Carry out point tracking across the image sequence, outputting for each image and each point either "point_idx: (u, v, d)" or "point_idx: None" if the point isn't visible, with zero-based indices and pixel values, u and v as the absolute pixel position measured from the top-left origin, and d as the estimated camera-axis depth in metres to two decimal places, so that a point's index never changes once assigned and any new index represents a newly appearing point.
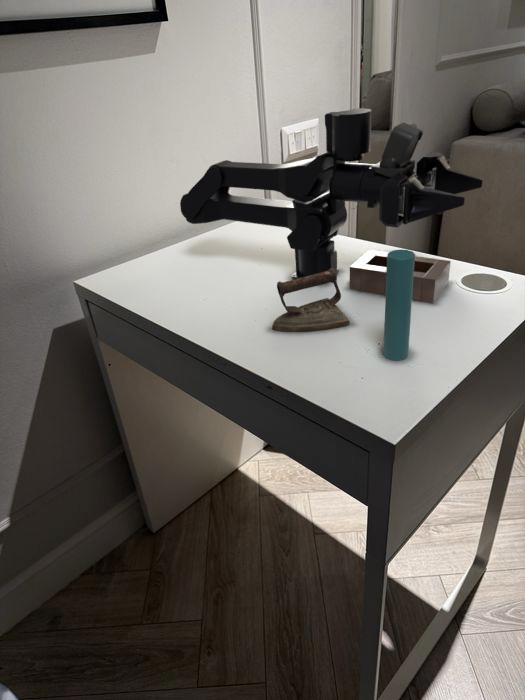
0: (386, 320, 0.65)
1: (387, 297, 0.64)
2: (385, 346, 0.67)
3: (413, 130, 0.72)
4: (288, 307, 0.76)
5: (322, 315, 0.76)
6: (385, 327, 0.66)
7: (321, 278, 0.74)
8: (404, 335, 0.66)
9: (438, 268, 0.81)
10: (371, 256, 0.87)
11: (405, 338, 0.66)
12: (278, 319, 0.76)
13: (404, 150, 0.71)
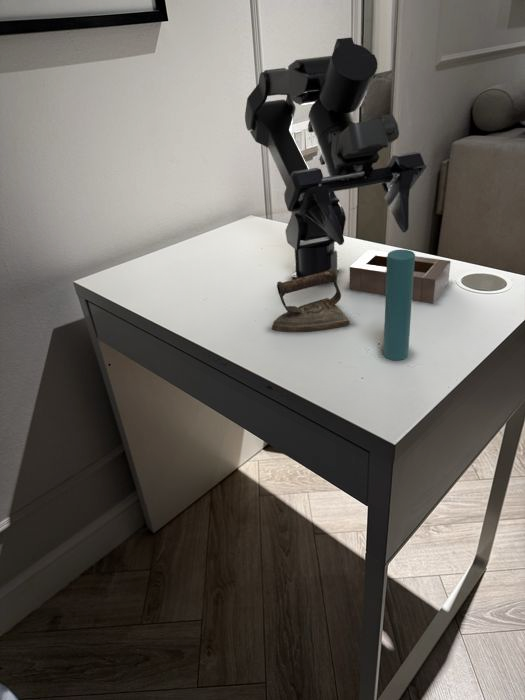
0: (386, 320, 0.65)
1: (387, 297, 0.64)
2: (385, 346, 0.67)
3: (371, 139, 0.63)
4: (288, 307, 0.76)
5: (322, 315, 0.76)
6: (385, 327, 0.66)
7: (321, 278, 0.74)
8: (404, 335, 0.66)
9: (438, 268, 0.81)
10: (371, 256, 0.87)
11: (405, 338, 0.66)
12: (278, 319, 0.76)
13: (348, 152, 0.64)
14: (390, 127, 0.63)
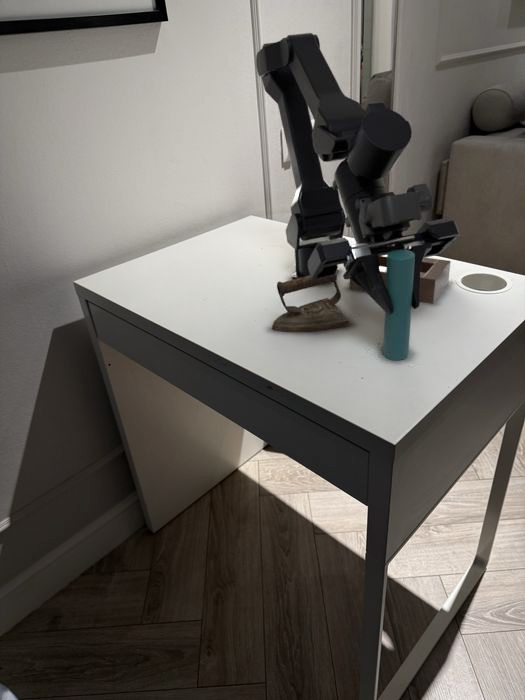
0: (386, 320, 0.65)
1: None
2: (385, 346, 0.67)
3: (404, 214, 0.58)
4: (288, 307, 0.76)
5: (322, 315, 0.76)
6: (385, 327, 0.66)
7: None
8: (404, 335, 0.66)
9: (438, 268, 0.81)
10: None
11: (405, 338, 0.66)
12: (278, 319, 0.76)
13: (378, 224, 0.60)
14: (424, 200, 0.59)
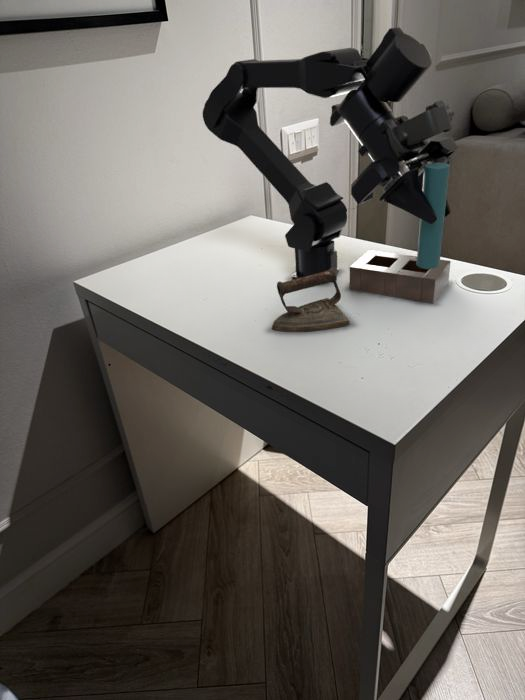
0: (425, 231, 0.72)
1: None
2: (423, 257, 0.74)
3: (443, 124, 0.65)
4: (288, 307, 0.76)
5: (322, 315, 0.76)
6: (423, 239, 0.72)
7: (321, 278, 0.74)
8: (441, 242, 0.73)
9: (438, 268, 0.81)
10: (371, 256, 0.87)
11: (441, 245, 0.73)
12: (278, 319, 0.76)
13: (420, 138, 0.66)
14: (450, 112, 0.67)
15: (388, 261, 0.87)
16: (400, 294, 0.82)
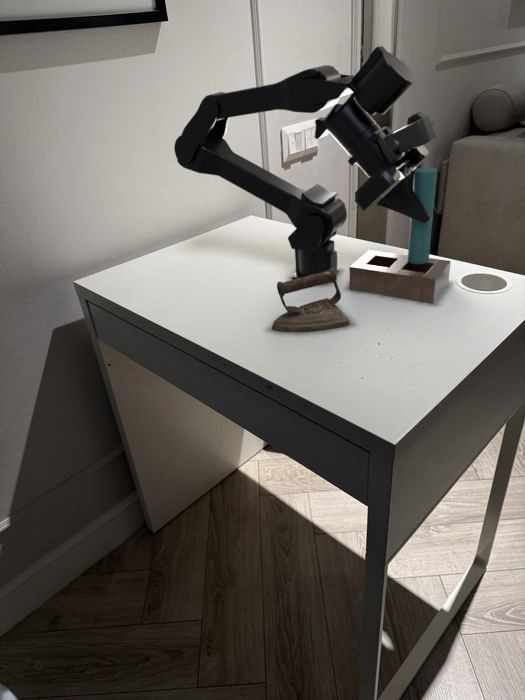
0: (418, 230, 0.78)
1: None
2: (416, 254, 0.80)
3: (431, 132, 0.72)
4: (288, 307, 0.76)
5: (322, 315, 0.76)
6: (416, 237, 0.79)
7: (321, 278, 0.74)
8: (430, 239, 0.80)
9: (438, 268, 0.81)
10: (371, 256, 0.87)
11: None
12: (278, 319, 0.76)
13: (413, 146, 0.72)
14: (432, 121, 0.74)
15: (388, 261, 0.87)
16: (400, 294, 0.82)
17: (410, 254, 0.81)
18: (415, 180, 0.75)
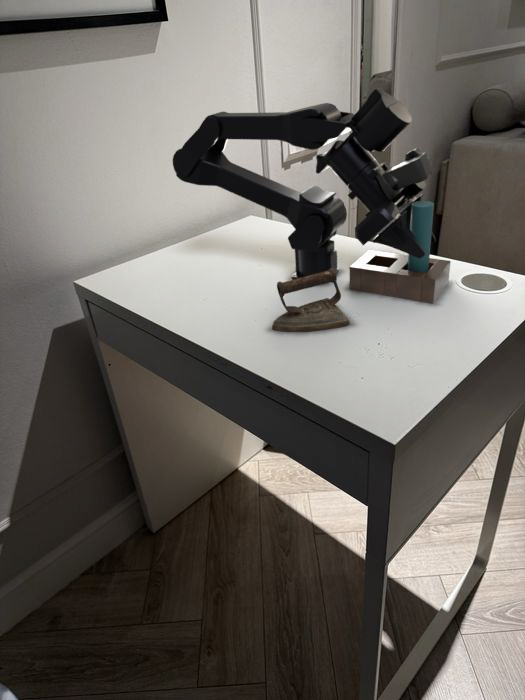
0: (416, 261, 0.81)
1: None
2: None
3: (428, 170, 0.74)
4: (288, 307, 0.76)
5: (322, 315, 0.76)
6: (414, 267, 0.81)
7: (321, 278, 0.74)
8: None
9: (438, 268, 0.81)
10: (371, 256, 0.87)
11: None
12: (278, 319, 0.76)
13: (411, 183, 0.74)
14: (429, 158, 0.76)
15: (388, 261, 0.87)
16: (400, 294, 0.82)
17: None
18: (413, 214, 0.78)
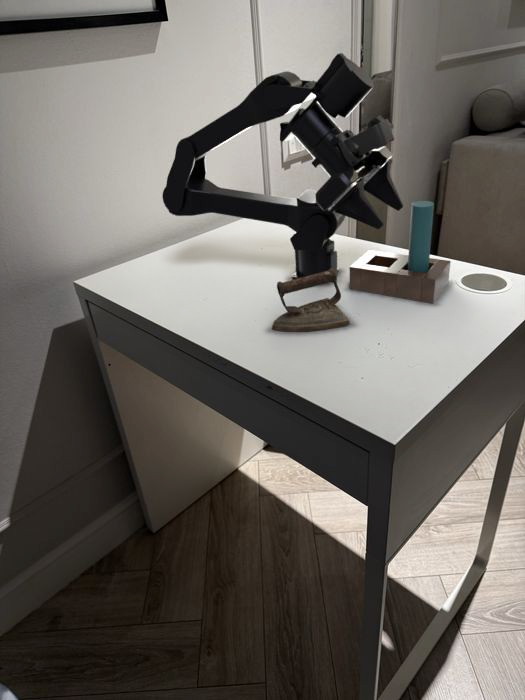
0: (416, 261, 0.81)
1: (417, 241, 0.79)
2: None
3: (388, 136, 0.75)
4: (288, 307, 0.76)
5: (322, 315, 0.76)
6: (414, 267, 0.81)
7: (321, 278, 0.74)
8: None
9: (438, 268, 0.81)
10: (371, 256, 0.87)
11: None
12: (278, 319, 0.76)
13: (371, 149, 0.75)
14: (391, 125, 0.76)
15: (388, 261, 0.87)
16: (400, 294, 0.82)
17: None
18: (413, 214, 0.78)
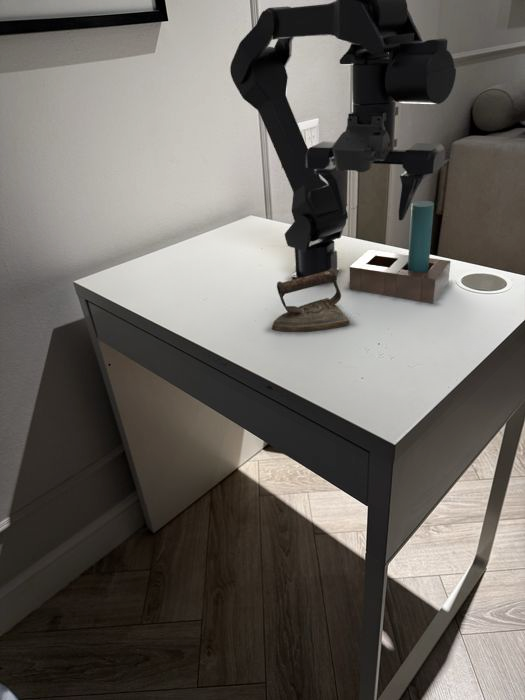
0: (416, 261, 0.81)
1: (417, 241, 0.79)
2: None
3: (348, 166, 0.67)
4: (288, 307, 0.76)
5: (322, 315, 0.76)
6: (414, 267, 0.81)
7: (321, 278, 0.74)
8: None
9: (438, 268, 0.81)
10: (371, 256, 0.87)
11: None
12: (278, 319, 0.76)
13: None
14: (368, 158, 0.65)
15: (388, 261, 0.87)
16: (400, 294, 0.82)
17: None
18: (413, 214, 0.78)
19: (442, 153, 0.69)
